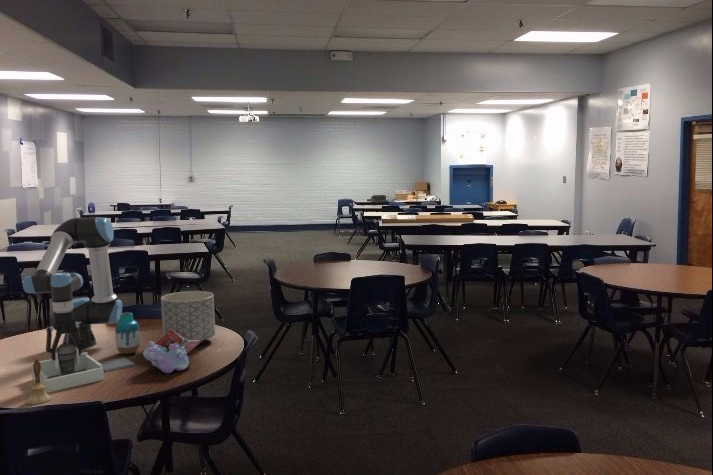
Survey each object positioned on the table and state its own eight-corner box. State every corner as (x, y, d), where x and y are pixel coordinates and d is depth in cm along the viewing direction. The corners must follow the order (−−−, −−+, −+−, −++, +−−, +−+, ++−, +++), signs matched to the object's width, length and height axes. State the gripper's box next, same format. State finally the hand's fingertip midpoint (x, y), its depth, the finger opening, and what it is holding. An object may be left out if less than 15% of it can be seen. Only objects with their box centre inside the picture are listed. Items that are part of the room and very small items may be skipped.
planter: (187, 334, 315) (185, 289, 313) (225, 339, 304) (223, 293, 302) (152, 346, 293) (149, 298, 290) (192, 352, 282) (190, 303, 279)
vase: (132, 357, 277) (130, 316, 275) (111, 356, 279) (109, 316, 277) (145, 350, 287) (142, 311, 285) (125, 349, 289) (122, 310, 287)
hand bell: (44, 394, 231) (40, 354, 229) (55, 399, 226) (52, 358, 224) (22, 401, 224) (18, 360, 222) (33, 406, 219) (30, 364, 218)
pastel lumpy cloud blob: (135, 367, 247) (157, 330, 247) (141, 350, 268) (161, 316, 268) (180, 387, 253) (201, 351, 253) (182, 369, 274) (202, 335, 274)
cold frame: (32, 379, 248) (31, 363, 248) (87, 367, 263) (86, 352, 262) (45, 393, 233) (44, 375, 232) (104, 379, 247) (103, 363, 246)
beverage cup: (62, 377, 251) (59, 330, 249) (80, 376, 252) (77, 329, 249) (55, 383, 244) (51, 335, 242) (73, 382, 244) (70, 334, 242)
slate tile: (96, 365, 266) (96, 363, 266) (124, 359, 274) (124, 357, 273) (106, 371, 257) (106, 369, 257) (134, 365, 265) (133, 363, 264)
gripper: (38, 316, 235) (42, 373, 238) (91, 308, 248) (95, 362, 251) (33, 313, 241) (37, 368, 243) (86, 305, 254) (89, 358, 256)
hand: (67, 365), depth 247 cm, fingers closed on beverage cup, 7 cm apart
